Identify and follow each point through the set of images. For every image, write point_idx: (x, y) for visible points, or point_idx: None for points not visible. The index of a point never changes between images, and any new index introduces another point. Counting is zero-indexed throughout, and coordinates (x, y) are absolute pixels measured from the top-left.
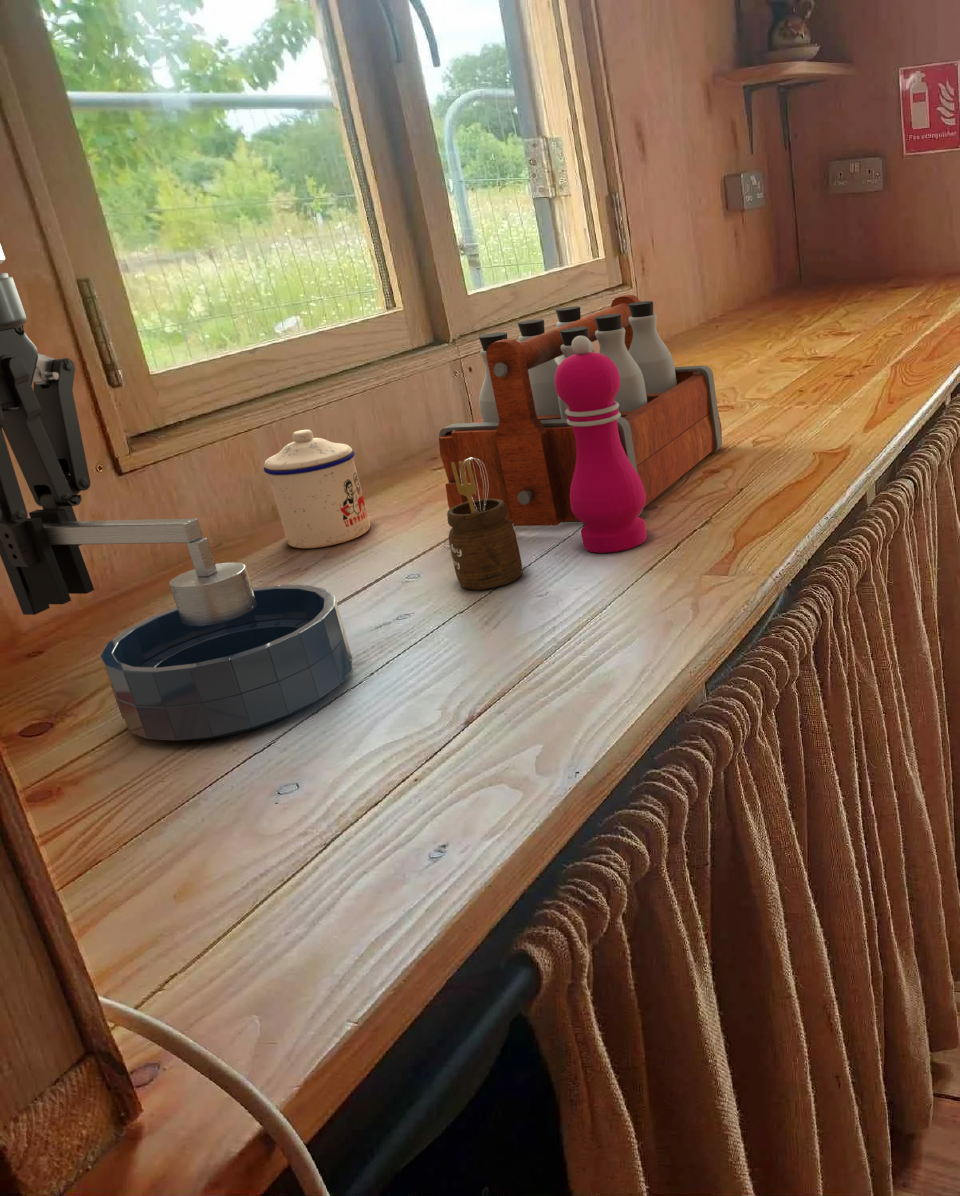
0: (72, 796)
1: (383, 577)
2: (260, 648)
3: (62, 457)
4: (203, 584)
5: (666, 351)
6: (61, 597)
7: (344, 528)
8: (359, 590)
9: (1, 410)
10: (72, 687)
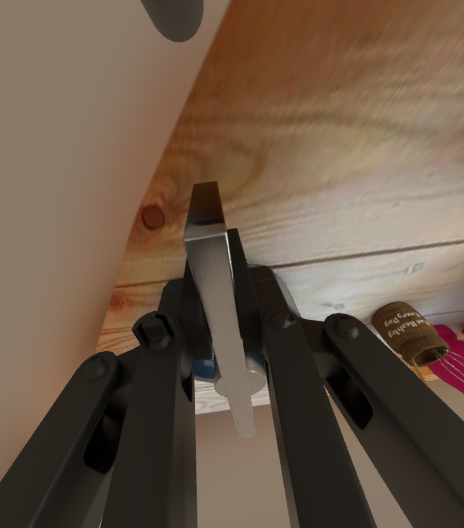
0: (123, 314)
1: (425, 247)
2: (212, 382)
3: (366, 432)
4: (222, 395)
5: None
6: None
7: None
8: (399, 249)
9: None
10: (214, 166)
